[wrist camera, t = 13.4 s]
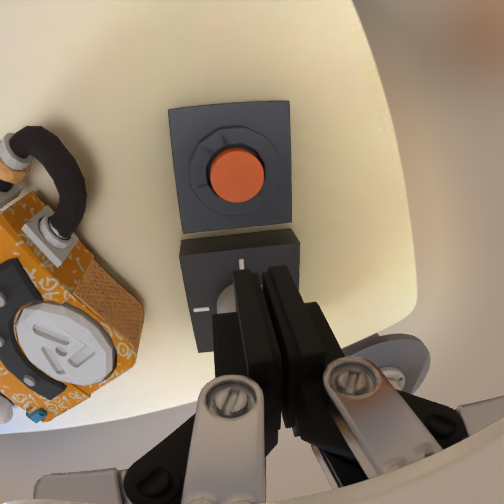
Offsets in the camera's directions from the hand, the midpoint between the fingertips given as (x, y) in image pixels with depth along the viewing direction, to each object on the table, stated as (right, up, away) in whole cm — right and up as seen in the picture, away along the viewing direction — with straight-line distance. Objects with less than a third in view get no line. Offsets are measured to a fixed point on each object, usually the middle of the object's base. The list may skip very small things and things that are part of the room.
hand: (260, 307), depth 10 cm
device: (-23, -2, +18) cm, 29 cm away
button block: (-2, +9, +16) cm, 18 cm away
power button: (-1, +7, +12) cm, 15 cm away
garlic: (-41, -22, +26) cm, 54 cm away
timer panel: (-1, -2, +21) cm, 21 cm away
